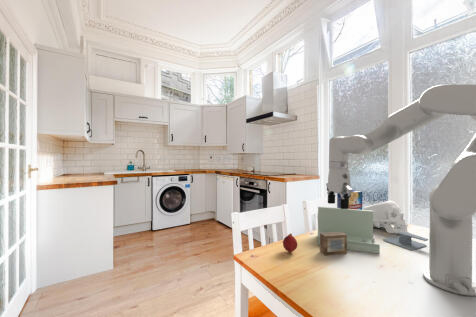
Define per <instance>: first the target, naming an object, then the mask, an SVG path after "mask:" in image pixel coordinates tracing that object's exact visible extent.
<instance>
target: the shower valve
mask: <svg viewBox="0 0 476 317" xmlns="http://www.w3.org/2000/svg"><path fill="white" fill-rule="evenodd" d="M413 238H414V239H416V240H419V241H423V242H428V240H429V238H426V237H423V236H420V235H418V234H417V235H416V234H414V233H410V232H409V233H407V232H399V234H398V235H396V236H395V235H394V236H391V237H386V238H383V239H382V241H383V242H386V243H387V244H390V245H394V246H397V247H399V248H403V249H405V250H407V251H416V250H419V249H423V248H425V247H427V244H425V243H423V242H419V241H416V240H412V239H413Z"/></svg>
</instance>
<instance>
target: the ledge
mask: <svg viewBox="0 0 476 317" xmlns="http://www.w3.org/2000/svg"><path fill="white" fill-rule="evenodd" d="M330 232H343V233H345V234H346V235H347V250H351V251H359V252H366V253H371V254H377V255H378V254H379V255H380V254H381V253H380V248H381V247H380V243H377V242H376V240H375V238H374V226H373V211H369V210H363V209H362V210H357V209H341V208H337V207H329V206H320V205H319V206H317V245H318V246H320V233H330Z"/></svg>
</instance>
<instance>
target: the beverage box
mask: <svg viewBox="0 0 476 317" xmlns="http://www.w3.org/2000/svg"><path fill="white" fill-rule="evenodd" d="M336 195H337V198H336V200H337V201H336V202H337V204H336V208H340V201H341V199H342V198H341V195H340V194H339V193H336ZM343 195H345V194H343ZM348 209H357V210H363V191H359V190H355V189H354V190H353V189H352V193H351V196H350V199H349V208H348Z"/></svg>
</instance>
